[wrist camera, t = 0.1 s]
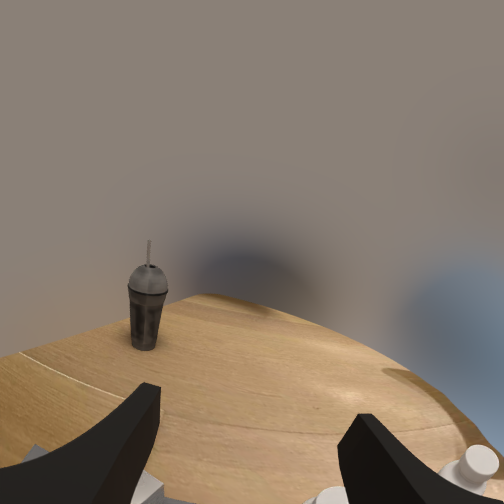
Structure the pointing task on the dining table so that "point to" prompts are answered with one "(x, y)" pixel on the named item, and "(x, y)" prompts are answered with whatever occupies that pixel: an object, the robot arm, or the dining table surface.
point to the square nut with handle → (148, 490)
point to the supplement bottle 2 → (472, 469)
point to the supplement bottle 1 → (330, 496)
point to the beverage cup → (146, 303)
